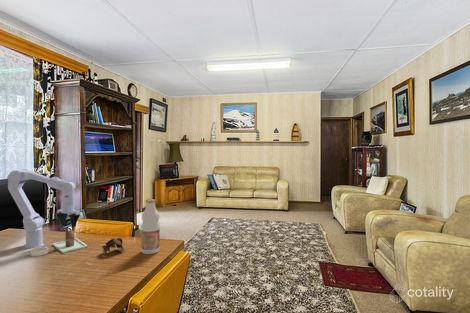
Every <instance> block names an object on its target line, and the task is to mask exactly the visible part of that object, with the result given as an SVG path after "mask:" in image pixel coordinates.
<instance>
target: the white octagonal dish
mask: <svg viewBox="0 0 470 313" xmlns="http://www.w3.org/2000/svg"><path fill="white" fill-rule="evenodd" d="M29 251H30V252H29V255H30V257H39V256H44V255H47V253H49V247H48V246H40V247H35V248H31V250H30V249H29Z"/></svg>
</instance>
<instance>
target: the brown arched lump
mask: <svg viewBox="0 0 470 313" xmlns="http://www.w3.org/2000/svg"><path fill="white" fill-rule="evenodd" d="M111 248H112V249H113V248H117V249H119V252H120V254H123V252H124V251H125V249H124V246H123V238H122V237H118V238H117V239H116V238H115V237H114V238H111V239H109V240H108V241H107V242H106V243H104V244H103V245H102V249H103V252H104V253H107V252H111Z"/></svg>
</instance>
